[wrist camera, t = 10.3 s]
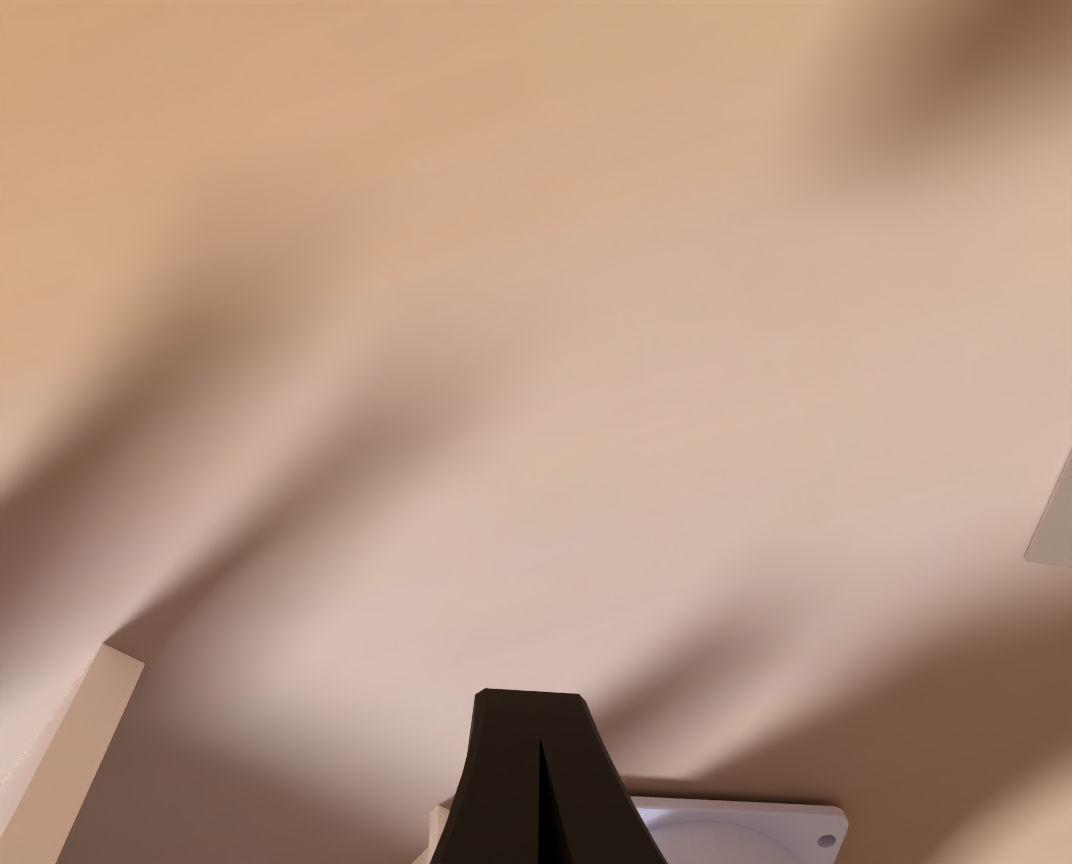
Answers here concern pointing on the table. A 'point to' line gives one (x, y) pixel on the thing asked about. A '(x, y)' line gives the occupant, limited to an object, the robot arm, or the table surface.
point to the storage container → (81, 764)
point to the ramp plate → (1055, 526)
